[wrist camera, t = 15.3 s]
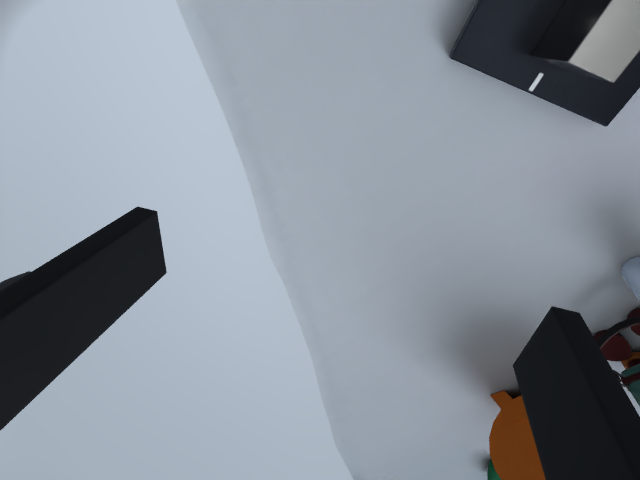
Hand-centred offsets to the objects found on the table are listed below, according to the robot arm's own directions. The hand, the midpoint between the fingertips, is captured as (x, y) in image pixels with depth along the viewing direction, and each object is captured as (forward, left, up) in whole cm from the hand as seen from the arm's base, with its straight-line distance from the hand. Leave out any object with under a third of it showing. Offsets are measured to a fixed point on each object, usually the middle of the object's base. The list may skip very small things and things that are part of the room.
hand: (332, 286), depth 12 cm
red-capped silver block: (-10, +12, -24) cm, 29 cm away
